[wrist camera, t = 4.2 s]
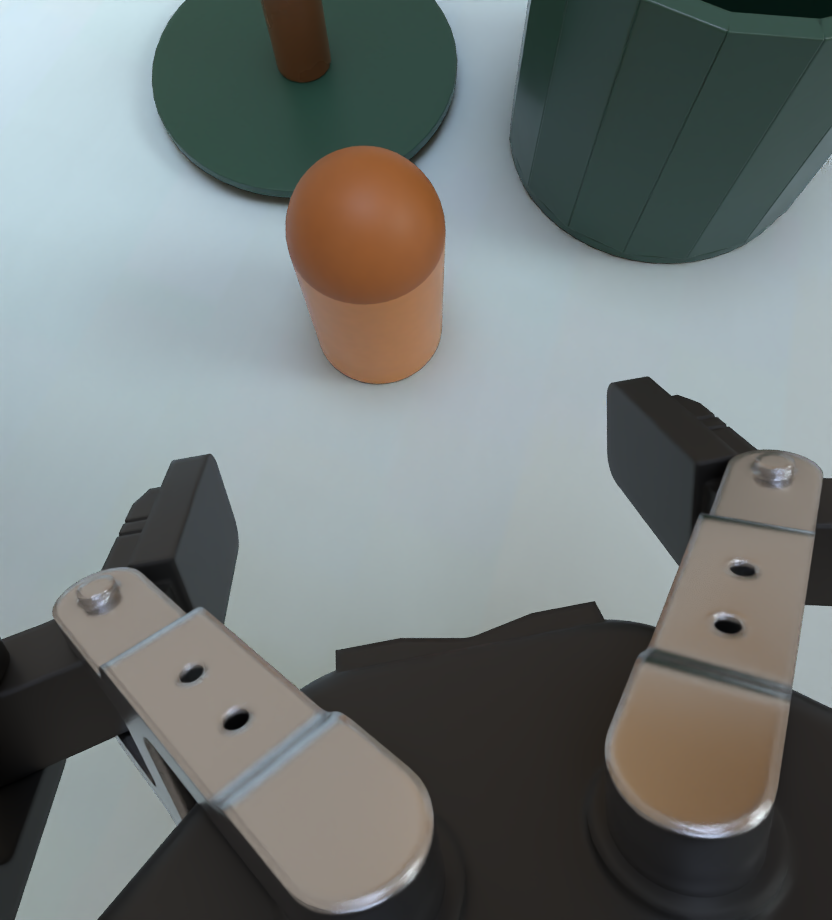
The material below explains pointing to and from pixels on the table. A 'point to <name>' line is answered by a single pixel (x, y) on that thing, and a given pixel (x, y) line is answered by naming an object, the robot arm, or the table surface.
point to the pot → (671, 119)
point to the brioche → (370, 261)
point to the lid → (300, 83)
